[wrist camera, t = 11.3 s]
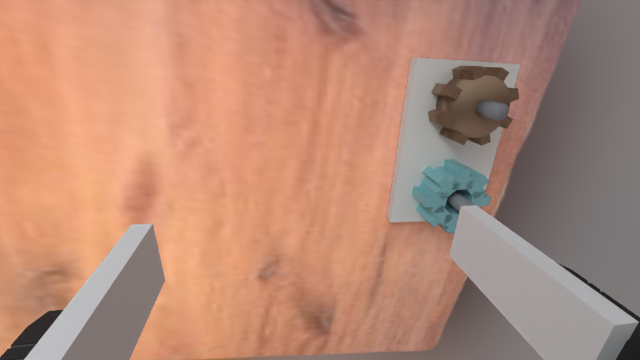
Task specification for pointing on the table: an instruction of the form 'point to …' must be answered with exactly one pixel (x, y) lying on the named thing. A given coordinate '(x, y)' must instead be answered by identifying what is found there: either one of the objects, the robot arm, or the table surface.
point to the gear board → (437, 136)
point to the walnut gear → (471, 103)
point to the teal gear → (449, 192)
